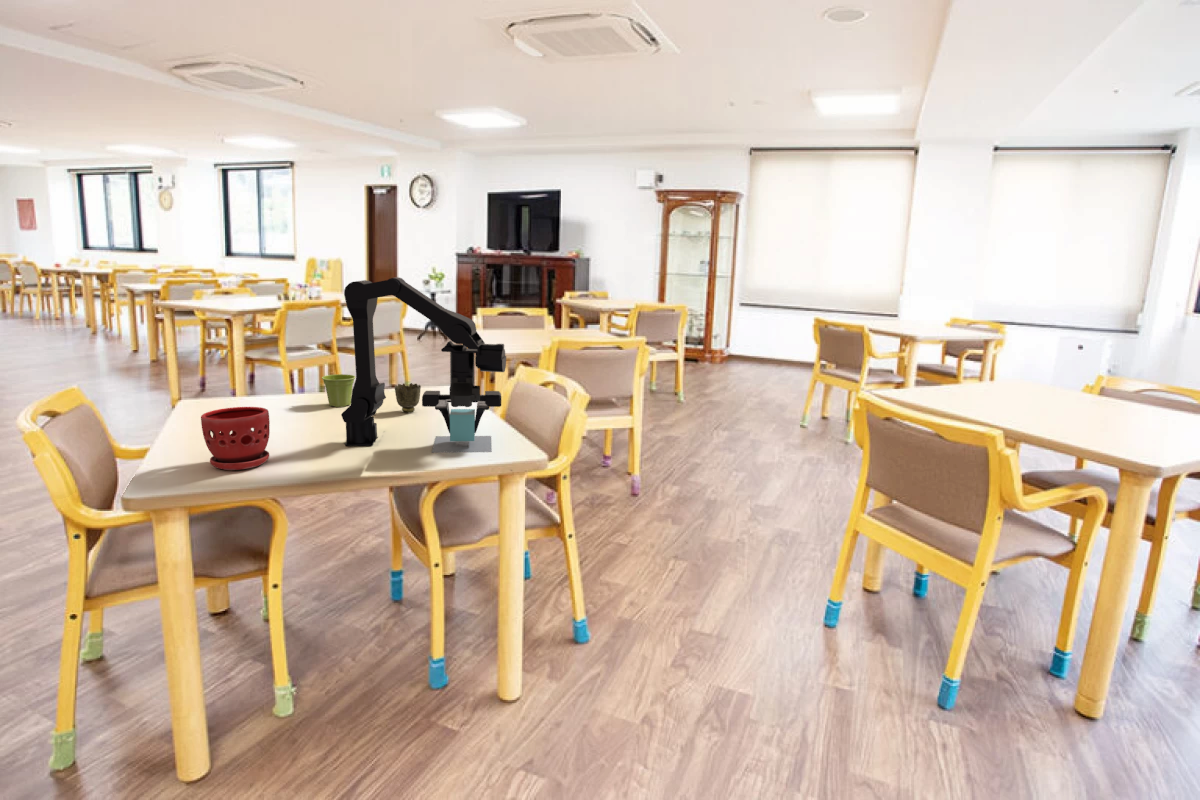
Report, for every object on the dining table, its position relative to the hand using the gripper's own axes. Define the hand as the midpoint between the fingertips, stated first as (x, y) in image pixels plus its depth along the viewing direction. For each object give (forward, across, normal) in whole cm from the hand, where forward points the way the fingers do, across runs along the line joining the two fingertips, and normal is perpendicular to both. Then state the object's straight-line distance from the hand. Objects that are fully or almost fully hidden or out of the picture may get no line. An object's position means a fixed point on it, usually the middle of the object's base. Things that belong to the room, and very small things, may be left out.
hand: (462, 432), depth 169 cm
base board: (+4, 0, 0) cm, 4 cm away
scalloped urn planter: (+4, -17, +37) cm, 41 cm away
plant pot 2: (+4, -38, +46) cm, 60 cm away
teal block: (+1, 0, 0) cm, 1 cm away
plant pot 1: (+4, -48, -11) cm, 49 cm away
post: (+3, 0, 0) cm, 3 cm away
